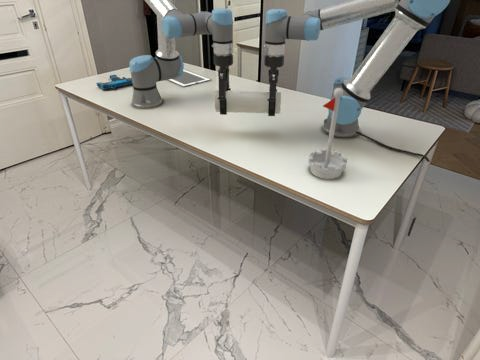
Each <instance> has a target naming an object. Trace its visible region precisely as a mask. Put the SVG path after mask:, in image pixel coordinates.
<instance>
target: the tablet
mask: <svg viewBox="0 0 480 360" xmlns="http://www.w3.org/2000/svg"><path fill="white" fill-rule="evenodd" d="M211 80H212V79H210V78H207V77H205V76H202V75H199V74H197V73H194V72H192V71H190V70H187V69H185V68H184V69H183V73H182V75H181V76H180V77H178V78H175V79H169V80H168V81H169V82H171V83H174V84H177V85H178V86H181V87H183V88H184V87H189V86H192V85H197V84H200V83H205V82H208V81H211Z"/></svg>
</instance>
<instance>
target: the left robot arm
mask: <svg viewBox="0 0 480 360" xmlns="http://www.w3.org/2000/svg"><path fill="white" fill-rule="evenodd" d="M144 2H145V3H146V4H147V5H148V7H149V8H150V9H151V10H152V11H153V12H154V14H155V15H156V24H157V25H156V27H157V44H158V45H157V47H158V49H157V50H156V51H155V57H153V56H152V55H151V54H145V55H138V56H135V57H133V58H131V59H130V61H129V63H128V64H129V65H128V66H129V72H130V78H132V83H133V84H132V87H133V88H132V89H133V91H132V92H133V93H132V100H131V103H132V107H134V108H136V109H152V108H156V107H158V106H161V105H162V104H163V98H162V96H161V93H160V91H159V90H158V85H157V82H162V81H169V79H175V78H178V77H180V76H181V75H182V73H183V69H184V70H185V68H184V67H185V64H184V61H183V57H182V56H181V55H180V53H179V52H178V50H177V39H179V38H186V37H194V36H202V35H210V36H212V44H211V47H212V48H213V65H214V66H216V67H219V68H218V70H217V77H218V91H219V98H218V99H219V100H220V112H219V115H221V116H224V115H225V116H226V115H228V112H227V100H226V91H232V88H231V87H230V66H233V64H234V55H233V53H234V29H233V28H234V19H233V11H232V10H231V9H230V8H214V9H212V11H211V12H210V11H198V12H197V13H186V14H183V13H182V12H181V11H180V10H179V9H178V8H177V7H176V0H144ZM122 79H127V77H124V76H123V77H122Z"/></svg>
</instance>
